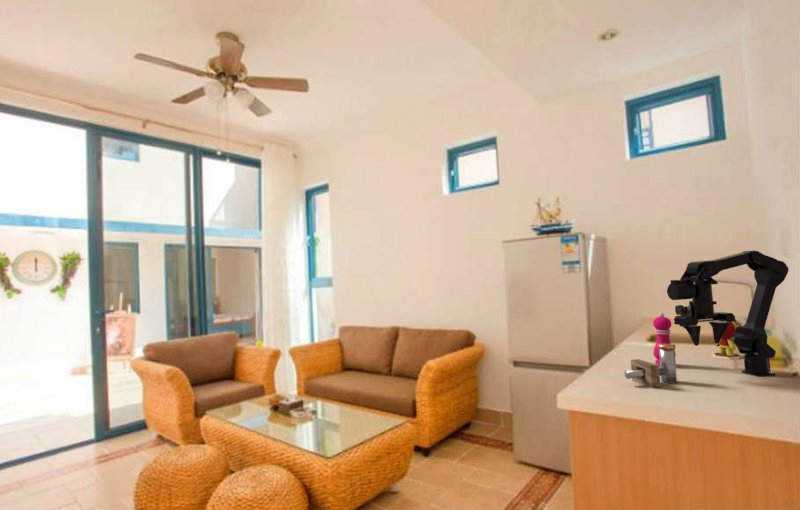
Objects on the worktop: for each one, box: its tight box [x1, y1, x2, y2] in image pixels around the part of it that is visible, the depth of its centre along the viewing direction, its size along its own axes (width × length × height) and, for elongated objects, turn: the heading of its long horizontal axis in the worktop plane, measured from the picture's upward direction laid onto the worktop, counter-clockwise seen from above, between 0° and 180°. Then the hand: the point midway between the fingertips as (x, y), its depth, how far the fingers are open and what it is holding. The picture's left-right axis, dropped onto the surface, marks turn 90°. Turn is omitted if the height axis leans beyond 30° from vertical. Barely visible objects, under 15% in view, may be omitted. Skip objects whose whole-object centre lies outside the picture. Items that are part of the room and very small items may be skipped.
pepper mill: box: [652, 312, 677, 367], centre depth 159 cm, size 7×7×20 cm
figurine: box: [712, 322, 741, 360], centre depth 168 cm, size 9×10×15 cm
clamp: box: [624, 343, 678, 384], centre depth 137 cm, size 18×5×12 cm, turn 98°
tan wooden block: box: [630, 358, 661, 389], centre depth 137 cm, size 3×9×7 cm, turn 8°
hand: (706, 344), depth 142 cm, fingers open, 8 cm apart
